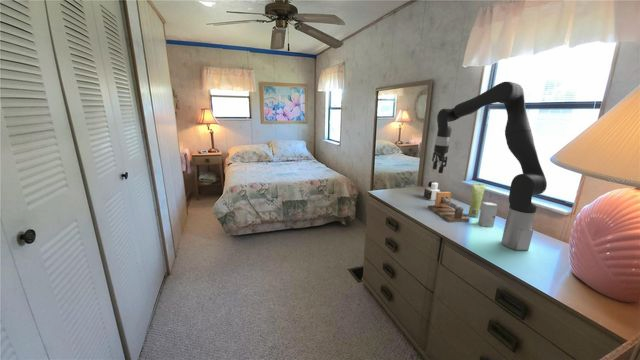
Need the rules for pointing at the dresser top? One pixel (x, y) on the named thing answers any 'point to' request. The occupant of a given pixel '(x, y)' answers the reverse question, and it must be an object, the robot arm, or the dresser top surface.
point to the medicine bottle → (431, 191)
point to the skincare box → (487, 214)
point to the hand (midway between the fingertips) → (437, 171)
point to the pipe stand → (449, 211)
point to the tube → (476, 199)
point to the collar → (438, 198)
